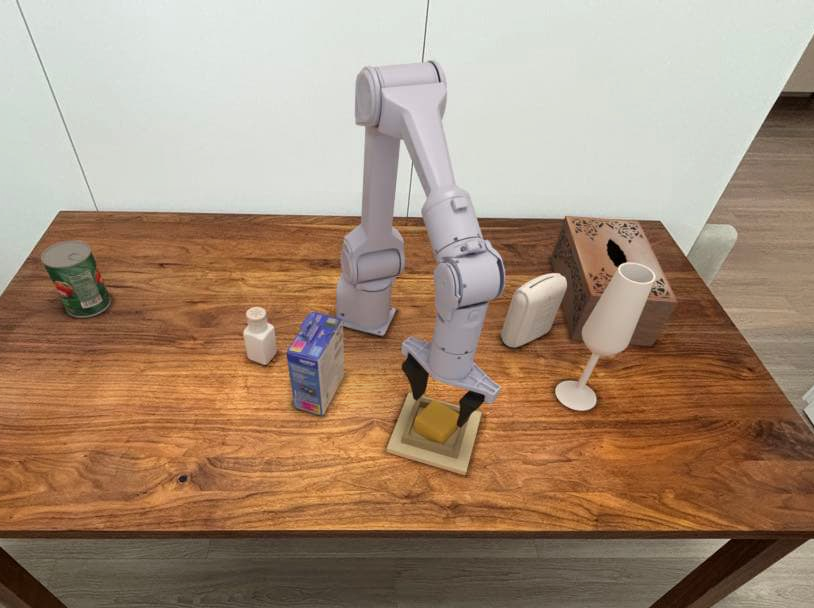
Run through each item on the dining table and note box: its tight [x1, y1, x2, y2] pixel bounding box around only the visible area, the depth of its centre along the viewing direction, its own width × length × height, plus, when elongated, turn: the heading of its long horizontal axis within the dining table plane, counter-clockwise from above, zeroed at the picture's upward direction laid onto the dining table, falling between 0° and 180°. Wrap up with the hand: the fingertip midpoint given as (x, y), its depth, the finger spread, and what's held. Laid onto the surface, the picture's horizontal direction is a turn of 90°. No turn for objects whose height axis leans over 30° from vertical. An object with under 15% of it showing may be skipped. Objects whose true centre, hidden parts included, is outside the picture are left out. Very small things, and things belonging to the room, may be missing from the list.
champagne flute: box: [554, 263, 655, 412], centre depth 79 cm, size 7×7×24 cm
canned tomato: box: [40, 240, 112, 319], centre depth 95 cm, size 8×8×11 cm
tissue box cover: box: [550, 215, 679, 347], centre depth 102 cm, size 26×14×10 cm, turn 175°
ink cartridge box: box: [285, 311, 345, 417], centre depth 82 cm, size 10×6×14 cm, turn 161°
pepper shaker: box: [242, 306, 278, 366], centre depth 88 cm, size 4×4×10 cm
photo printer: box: [500, 272, 567, 349], centre depth 93 cm, size 10×4×12 cm, turn 123°
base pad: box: [385, 391, 483, 476], centre depth 81 cm, size 12×12×2 cm
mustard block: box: [413, 398, 459, 444], centre depth 80 cm, size 5×5×3 cm
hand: (440, 409), depth 78 cm, fingers open, 7 cm apart
